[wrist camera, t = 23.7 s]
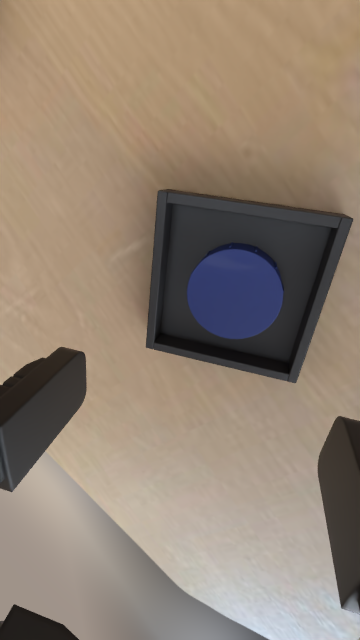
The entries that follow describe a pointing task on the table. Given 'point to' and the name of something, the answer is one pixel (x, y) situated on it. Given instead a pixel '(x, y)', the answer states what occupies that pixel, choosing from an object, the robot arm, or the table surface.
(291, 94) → the table surface
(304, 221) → the tray
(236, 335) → the lid
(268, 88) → the table surface
